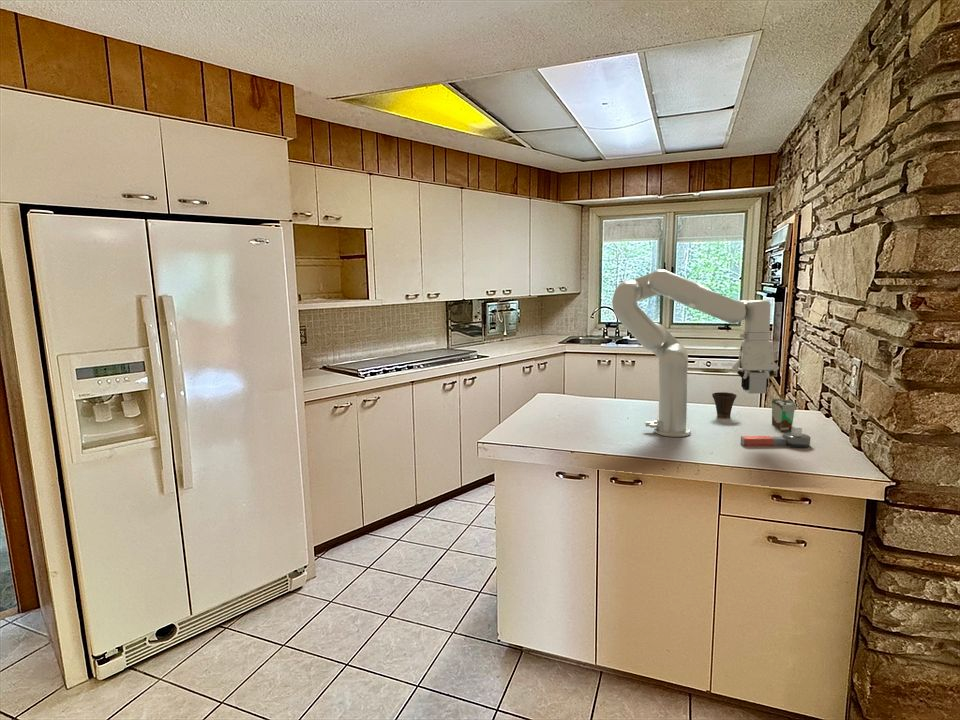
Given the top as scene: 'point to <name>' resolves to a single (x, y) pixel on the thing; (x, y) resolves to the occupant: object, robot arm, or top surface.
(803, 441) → the ratchet
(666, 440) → the top surface
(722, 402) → the cup
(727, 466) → the top surface
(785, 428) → the food container
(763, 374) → the square aluminium tube
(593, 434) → the top surface
